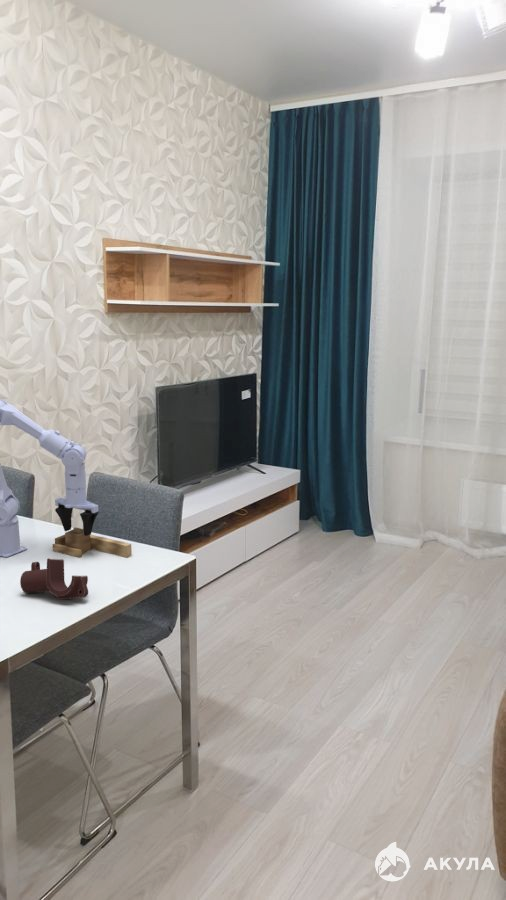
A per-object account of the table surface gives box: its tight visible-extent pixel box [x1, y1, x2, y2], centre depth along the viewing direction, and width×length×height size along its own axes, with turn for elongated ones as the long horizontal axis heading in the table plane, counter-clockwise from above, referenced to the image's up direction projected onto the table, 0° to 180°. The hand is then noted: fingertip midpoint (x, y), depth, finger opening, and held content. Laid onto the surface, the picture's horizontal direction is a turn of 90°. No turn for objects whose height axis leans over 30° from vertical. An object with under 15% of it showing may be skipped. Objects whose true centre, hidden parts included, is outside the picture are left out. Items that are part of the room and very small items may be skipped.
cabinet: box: [64, 527, 92, 555], centre depth 208 cm, size 5×5×7 cm
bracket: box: [19, 557, 89, 600], centre depth 178 cm, size 6×17×10 cm, turn 74°
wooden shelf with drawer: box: [52, 533, 133, 559], centre depth 207 cm, size 22×9×4 cm, turn 60°
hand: (77, 532), depth 208 cm, fingers open, 7 cm apart
